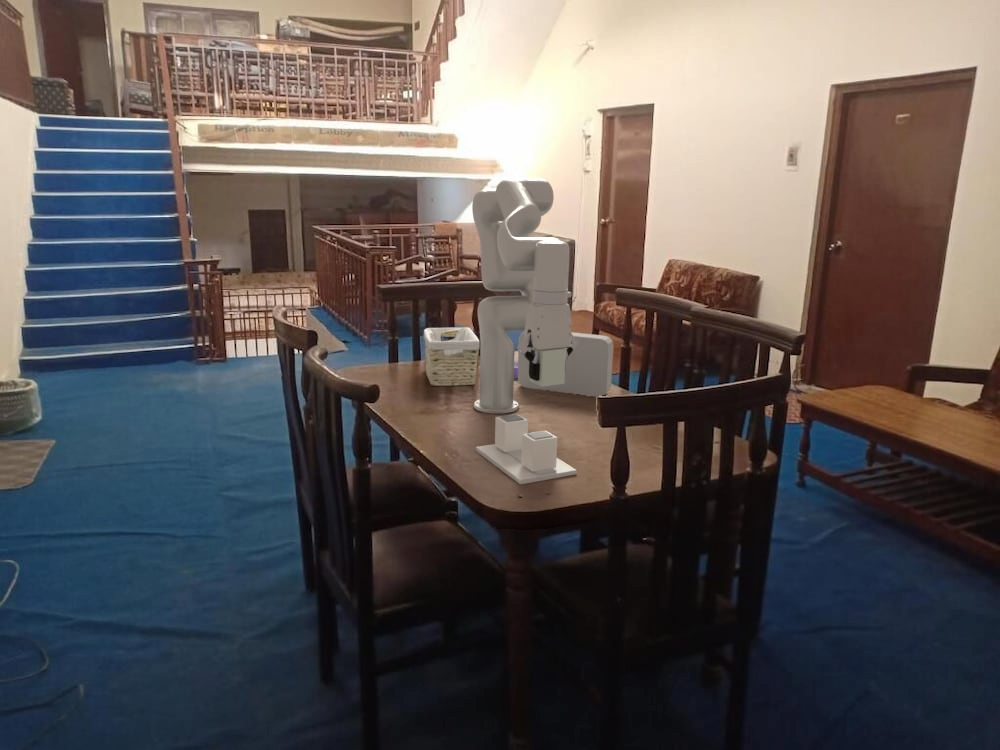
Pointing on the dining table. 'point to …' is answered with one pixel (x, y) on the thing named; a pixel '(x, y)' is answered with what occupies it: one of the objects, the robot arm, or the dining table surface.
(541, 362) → the block
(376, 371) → the dining table surface
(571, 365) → the rounded white slab
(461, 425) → the dining table surface
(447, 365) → the storage basket
